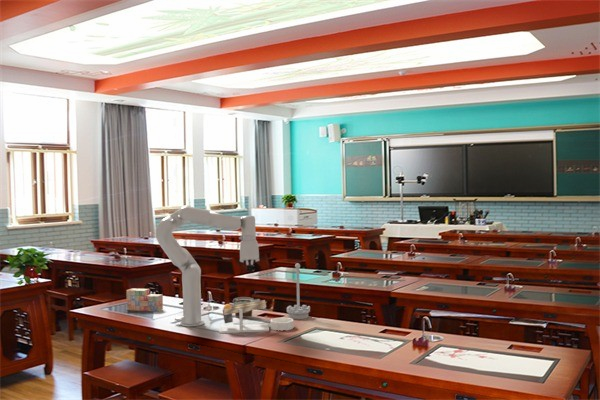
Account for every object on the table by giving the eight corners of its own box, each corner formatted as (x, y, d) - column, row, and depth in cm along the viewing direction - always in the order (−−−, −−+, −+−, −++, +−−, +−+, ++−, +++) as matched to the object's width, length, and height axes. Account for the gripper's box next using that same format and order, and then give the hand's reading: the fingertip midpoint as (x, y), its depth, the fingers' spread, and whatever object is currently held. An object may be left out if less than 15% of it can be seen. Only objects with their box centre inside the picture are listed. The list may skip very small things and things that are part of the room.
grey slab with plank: (224, 323, 297) (222, 310, 297) (225, 315, 315) (223, 303, 314) (267, 315, 299) (265, 302, 299) (266, 308, 317) (264, 296, 316)
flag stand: (307, 319, 321) (306, 265, 320) (284, 319, 323) (283, 264, 322) (312, 314, 333) (311, 261, 333) (289, 313, 336) (288, 261, 335)
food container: (256, 314, 336) (256, 297, 335) (254, 316, 330) (254, 299, 329) (235, 314, 337) (234, 296, 337) (232, 316, 331) (232, 299, 330)
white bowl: (271, 331, 297) (270, 323, 297) (269, 325, 309) (269, 317, 309) (294, 330, 298) (294, 322, 298) (292, 324, 310) (292, 317, 310)
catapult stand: (219, 333, 294) (218, 311, 294) (220, 327, 306) (219, 306, 306) (269, 331, 297) (268, 309, 296) (267, 325, 309) (267, 304, 308)
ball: (224, 313, 298) (222, 306, 298) (225, 311, 302) (223, 304, 302) (232, 311, 298) (230, 303, 298) (232, 309, 302) (230, 302, 302)
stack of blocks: (163, 309, 353) (162, 289, 352) (157, 312, 347) (157, 291, 346) (132, 307, 360) (132, 287, 359) (126, 310, 354) (126, 289, 353)
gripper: (235, 239, 312) (236, 274, 313) (263, 238, 314) (264, 272, 315) (234, 238, 320) (235, 271, 320) (262, 237, 322) (263, 270, 322)
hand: (249, 272), depth 318 cm, fingers closed
